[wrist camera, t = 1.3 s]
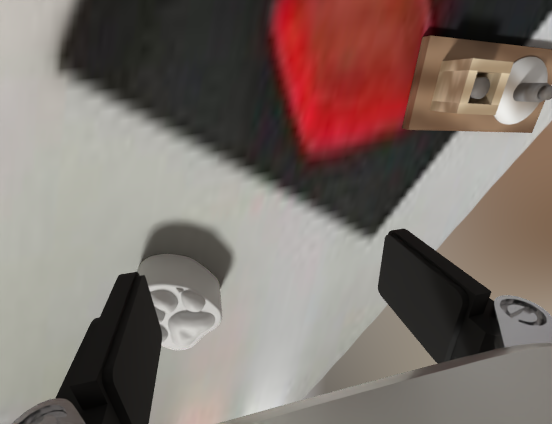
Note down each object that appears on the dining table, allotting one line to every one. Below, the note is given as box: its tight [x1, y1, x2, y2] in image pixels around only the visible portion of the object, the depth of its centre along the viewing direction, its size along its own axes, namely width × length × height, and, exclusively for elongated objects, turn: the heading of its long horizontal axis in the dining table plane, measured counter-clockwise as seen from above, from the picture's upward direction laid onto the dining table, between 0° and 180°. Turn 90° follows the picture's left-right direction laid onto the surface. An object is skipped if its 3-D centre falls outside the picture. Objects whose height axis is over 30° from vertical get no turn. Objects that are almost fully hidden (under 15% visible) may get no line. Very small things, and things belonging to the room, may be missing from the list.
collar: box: [430, 58, 514, 115], centre depth 39 cm, size 6×6×5 cm
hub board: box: [402, 35, 552, 133], centre depth 41 cm, size 12×24×6 cm, turn 86°
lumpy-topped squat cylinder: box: [137, 254, 222, 350], centre depth 42 cm, size 10×13×9 cm
